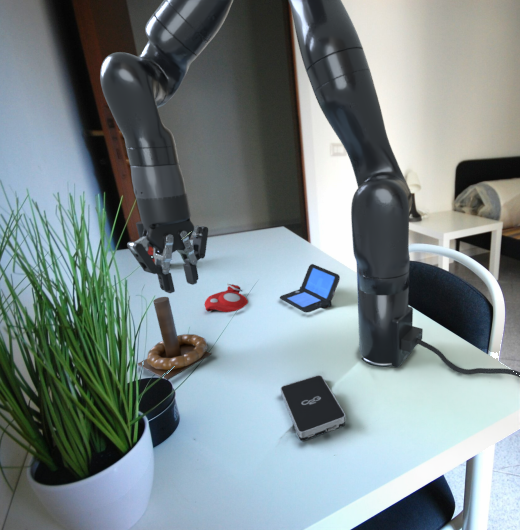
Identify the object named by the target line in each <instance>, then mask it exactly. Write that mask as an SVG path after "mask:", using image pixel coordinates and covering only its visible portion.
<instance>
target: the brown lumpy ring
mask: <svg viewBox="0 0 520 530" xmlns="http://www.w3.org/2000/svg"><path fill="white" fill-rule="evenodd" d="M177 337H178V341H179V345H180V346H181V345H193V346H196V347H195V348H194V349H193V350H192V351H190V352H188V353H186V354H184V355H182V356H178V357H174V358H162V357H160V355H161V354H162V353H163V352H165V347H164V343H163V340H162V341H159V342H157V343H156V344H155V345H153V346H152V348H151V349H150V350H149V351H147V357H146V359H147V362H148V364H149V365H151V366H152V367H154V368H156V369H160V370H170V369H171V368H172V367H173V366H175V367H174V368H173V369H177V368H181V367H184V366H188V365H189V364H191V363H193V362H195V361H197V360H199V359H200V358H201V357H202V356H203V354H204V353H205V352H206V351H207V352H208V342H207V339H206V338H205V337H203V336H200V335H199V334H193V333H191V334H190V333H189V334H186V333H184V334H179V335H178V334H177ZM173 369H172V370H173Z"/></svg>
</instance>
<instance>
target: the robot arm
mask: <svg viewBox="0 0 520 530" xmlns="http://www.w3.org/2000/svg"><path fill="white" fill-rule="evenodd" d="M287 1H288V4H289V7H290V10H291V14H292V19H293V24H294V30H295V34H296V39H297V40H296V41H297V44H298V48H299V53H300V56H301V59H302V64H303V66H304V69H305V72H306V75H307V77H308V80H309V83H310V86H311V89H312V92H313V94H314V97H315V99H316V101H317V104H318V105H319V108H320V109H321V112H322V113H323V115H324V117H325V119H326V121H327V123H328V124H329V125H330V128H331V129H332V130H333V132H334V133H335V135H336V137H337V138H338V140H339V142H340V143H341V145H342V146H343V148H344V150H345V151H346V154H347V156H348V158H349V161H350V165H351V167H352V170H353V173H354V178H355V181H356V184H357V189H356V191H355V192H354V194H353V196H352V200H351V207H350V209H351V211H350V215H351V218H350V219H351V220H350V221H351V235H352V251H353V256H354V259H355V262H356V283H357V284H356V286H357V287H356V289H357V290H356V291H357V320H358V322H357V323H358V324H357V325H358V347H359V350H358V351H359V354H360V355H361V357H362V358H361V360H362V361H363V362H364V363H366V364H368V365H369V366H370V365H371V366H373V367H378V368H389V367H392V368H396V369H398V368H400V367H401V365H402V364H403V363H404V362H405V361H406V360H407V358H408V357H409V356H410V354H411V353H412V352H413V350H414V349H415V348H416V347H417V346H418V345H419V346H421V347H423V348H426V349H427V350H429V351H431V352H432V353H434V354H435V355H436V356H437V357H438V358H439V359H440V360H441V361H442V362H443V364H444V365H446V366H447V367H449V368H450V369H451V370H453V371H454V372H456V373H458V374H463V375H477V374H486V375H487V374H490V375H491V374H498V375H499V374H500V375H503V374H504V375H511V376H515V377H517V378H519V379H520V376H519V375H520V371H519V370H516V369H512V368H502V367H501V368H493V367H492V368H491V367H490V368H484V367H483V368H482V367H476V368H469V369H467V368H462V367H460V366H457V365H456V364H454V363H453V362H451V360H449V359H448V357H446V355H444V353H443V352H442V351H440V350H439V349H438V348H437V347H435V346H433V345H431V344H430V343H427V342H426V341H424V340H423V332H424V331H423V328H421V327H418V326H415V325H413V317H414V315H413V314H414V313H413V312H414V308H413V306H409V305H410V304H409V303H410V301H409V300H410V299H409V298H410V264H411V263H410V262H411V256H410V249H409V243H410V241H409V240H410V233H409V232H410V212H411V211H412V206H413V205H412V204H413V196H412V191H411V189H410V187H409V184H408V182H407V180H406V178H405V176H404V173H403V171H402V169H401V167H400V165H399V162H398V160H397V158H396V156H395V153H394V151H393V148H392V146H391V143H390V140H389V137H388V133H387V130H386V125H385V121H384V117H383V113H382V109H381V104H380V100H379V97H378V93H377V89H376V87H375V83H374V79H373V76H372V72H371V69H370V65H369V63H368V59H367V57H366V53H365V50H364V47H363V44H362V42H361V39H360V37H359V34H358V32H357V29H356V28H355V25H354V23H353V21H352V19H351V16H350V15H349V12H348V11H347V9H346V7H345V5H344V3H343V1H342V0H287ZM233 2H234V0H163V1H162V2H161V3H160V4H159V6H158V7H157V8H156V10H155V11H154V13H152V14H151V16H150V18H149V19H148V20H147V22H146V24H145V27H144V30H145V35H146V38H147V39H148V41H147V42H146V44H145V47H144V48H143V50H142V52H141V53H140V54H139V55H138V56H137V55H134V54H131V53H128V52H123V51H122V52H121V51H119V52H117V51H116V52H112V53H111V54H108V55H107V56H106V57H105V58H104V59H103V61H102V63H101V66H100V73H99V74H100V75H99V79H100V85H101V89H102V93H103V97H104V98H105V101H106V103H107V106H108V107H109V110H110V112H111V114H112V117H113V118H114V121H115V123H116V125H117V127H118V129H119V131H120V133H121V134H122V137H123V139H124V142H125V148H126V154H127V158H128V163H129V166H130V172H131V173H130V174H131V182H132V187H133V193H134V196H135V200H136V203H137V204H136V205H137V208H138V212H139V217H140V221H142V223H143V226H144V231H143V237H141V238H138V239H137V240H135V241H128V242H127V244H126V247H127V248H128V250H129V252H130V253H131V254H132V256H133V257H134V258H135V260H136V262H137V263H138V264H139V265H140V267H141V269H142V270H143V271H144V272H146V273H150V274H153V275H157V279H158V283H159V287H160V290H162V291H164V292H165V293H168V294H173V293H175V291H176V290H175V289H176V288H175V285H174V281H173V276H172V273H171V271H170V269H171V266H170V265H171V261H172V260H173V253H175V252H177V253H178V254H179V255H180V257H181V259H182V261H183V262H184V263H183V271H184V274H185V280H186V283H187V284H189V285H192V286H194V285H197V283H198V280H199V273H198V267H197V263H198V262H199V261H200V260H203V259H205V258H206V251H207V245H208V244H207V243H208V236H209V228H208V227H207V226H204V225H199V224H196V225H194V223H193V222H192V220H191V216H192V214H191V209H190V204H189V198H188V192H187V188H186V183H185V182H186V181H185V178H184V174H183V171H182V167H181V165H180V164H181V163H180V160H179V154H178V147H177V144H176V143H177V142H176V138H175V136H174V133H173V131H172V130H171V129H170V128H169V127H167V126H166V125H165V124H164V123H163V120H162V118H161V115H160V112H159V108H161V107H163V106H165V105H166V104H167V103H169V102H170V101H171V100H172V98H173V97H174V96H175V95H176V93H177V92H178V91H179V89H180V86H181V85H182V83H183V81H184V79H185V78H186V75H187V73H188V71H189V68H190V67H191V64H192V63H193V62H194V61H195V60H196V59H197V58H198V57H199V56H200V55H201V54H202V52H203V51H204V50H205V49H206V47H207V46H208V45H209V43H210V42H211V41H213V39H214V38H215V36H216V35H217V34H218V32H219V31H220V29H222V26H223V24H224V23H225V20H226V19H227V17H228V14H229V13H230V10H231V7H232V5H233ZM191 231H192V232H191ZM189 232H191V233H190V234H189V235H187V234H188V233H189ZM186 235H187V236H186ZM185 236H186V237H185ZM183 237H185V238H184V239H182V238H183ZM191 237H192V242H191ZM181 239H182V240H181ZM148 243H149V244H150V245H151V246H153V247H154V250H153V257H154V259H155V263H154V261H153V260H152V258H151V257H150V255H149V254H148V252H147V251H148V246H147V244H148ZM513 371H514V372H513ZM516 373H517V374H516Z"/></svg>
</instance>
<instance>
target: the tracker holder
mask: <svg viewBox="0 0 520 530" xmlns="http://www.w3.org/2000/svg"><path fill="white" fill-rule="evenodd" d="M226 286H227V289H226V290H224V291H219V292H216V293H214V294H211V295H209V296H207V298H206V299H205V300H204V304H203V305H204V308H205V310H206V312H213V311H215V310H216V311H219V312H223V313H231V312H235V311H239V310H242V309H243V308H244V307H246V306H247V305H248V303H249V301H248V298H247V297H246V296H244V295H243V294H242V293H240V292H243V289H241V286H240V285H238V284H233V283H232V284H230V283H226Z"/></svg>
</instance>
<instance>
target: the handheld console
mask: <svg viewBox="0 0 520 530" xmlns="http://www.w3.org/2000/svg"><path fill="white" fill-rule="evenodd" d="M340 279H341V276H340V274H338V273H336V272H333V271H331V270H328V269H326V268H323V267H321V266H319V265H316V264H314V263H311V264H309V266H308V268H307V270H306V273H305V276H304V278H303V281H302V283H301V286H300V287H299V289H296V290H293V291H290V292H288V293H285V294H282V295H280V296H279V299H280V300H282V301H284V302H285V303H287V304H289V305H290V306H293V307H294V308H295V309H298V310H300V311H301V312H302V313H305V314H306V313H311V312H314V311H316V310H318V309H322V310H324V309H327V308H330V307H332V301H333V298H334V295H335V292H336V290H337V287H338V284H339V282H340Z"/></svg>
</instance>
